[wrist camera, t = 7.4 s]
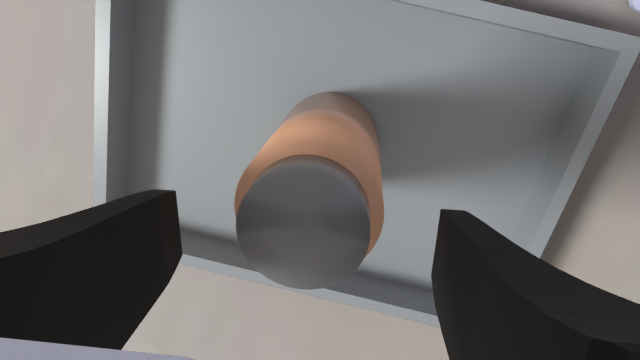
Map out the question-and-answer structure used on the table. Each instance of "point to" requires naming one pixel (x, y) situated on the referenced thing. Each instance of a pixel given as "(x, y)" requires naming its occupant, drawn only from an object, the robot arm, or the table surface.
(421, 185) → the tray
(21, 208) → the table surface
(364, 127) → the shaker
